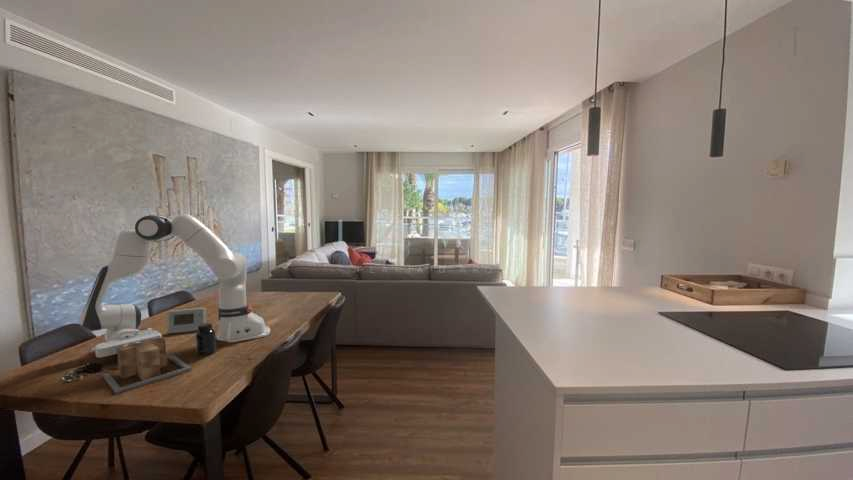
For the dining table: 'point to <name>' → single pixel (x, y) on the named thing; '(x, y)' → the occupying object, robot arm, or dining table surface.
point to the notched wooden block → (142, 359)
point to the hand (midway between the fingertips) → (135, 348)
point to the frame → (118, 389)
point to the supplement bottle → (205, 339)
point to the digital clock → (185, 320)
